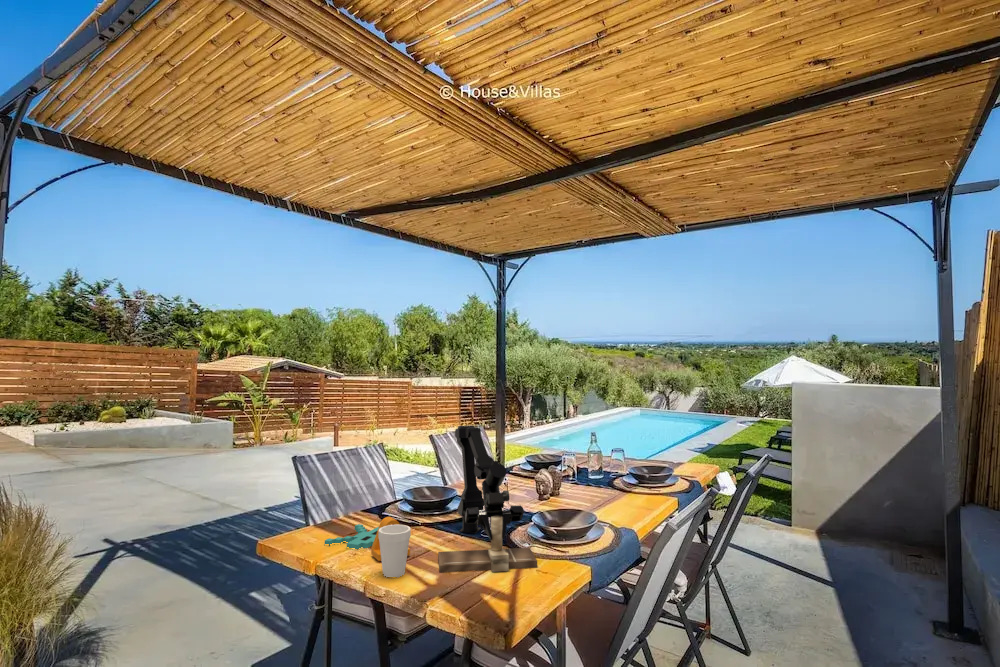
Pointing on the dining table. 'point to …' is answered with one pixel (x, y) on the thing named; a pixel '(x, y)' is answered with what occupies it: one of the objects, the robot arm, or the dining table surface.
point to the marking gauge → (497, 547)
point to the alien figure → (357, 538)
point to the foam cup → (394, 549)
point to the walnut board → (483, 560)
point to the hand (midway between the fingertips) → (497, 539)
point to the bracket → (376, 545)
